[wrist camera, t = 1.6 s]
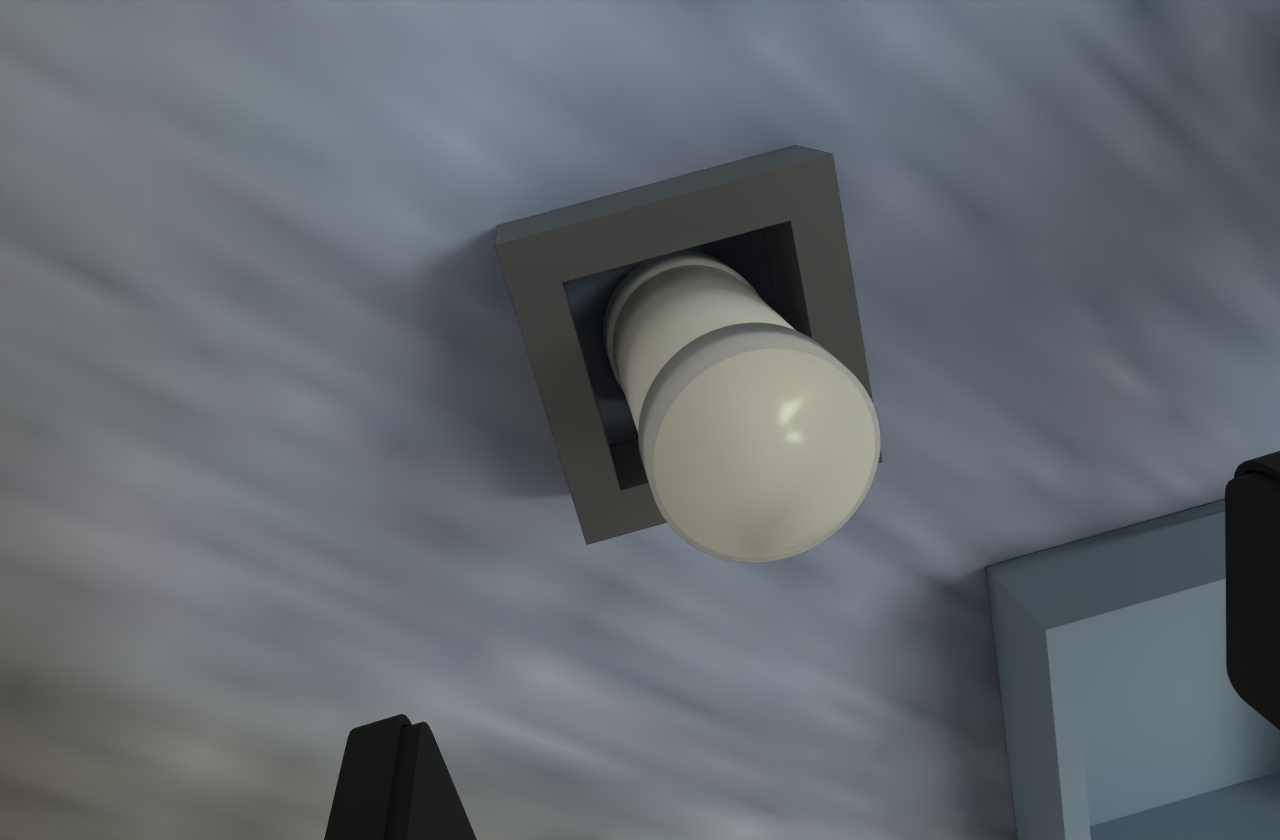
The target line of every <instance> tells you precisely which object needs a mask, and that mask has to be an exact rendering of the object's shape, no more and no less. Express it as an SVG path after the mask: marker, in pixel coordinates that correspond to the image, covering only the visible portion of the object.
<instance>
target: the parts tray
mask: <svg viewBox="0 0 1280 840" xmlns="http://www.w3.org/2000/svg"><path fill="white" fill-rule="evenodd" d="M986 576H987V584H988V592H989V601H990V609H991V617H992V626H993V634H994V642H995V651H996V659H997V667H998V676H999V684H1000V692H1001V701H1002V709H1003V718H1004V726H1005V734H1006V743H1007V751H1008V759H1009V768H1010V776H1011V784H1012V793H1013V801H1014V809H1015V818H1016V826H1017V834H1018V840H1280V730H1279V729H1278V728H1276V727H1275V726H1274V725H1273V724H1271V723H1270V722H1269V721H1268V720H1267V719H1265V718H1264V717H1263V716H1262V715H1260V714H1259V713H1258V712H1257V711H1256V710H1254V709H1253V708H1252V707H1251V706H1249V705H1248V704H1247V703H1246V702H1245V701H1244V700H1243V699H1242V698H1241V697H1240V696H1239V695H1238V694H1237V692H1236V691H1235V690H1234V688H1233V686H1232V684H1231V682H1230V680H1229V677H1228V674H1227V668H1226V560H1225V499H1224V500H1220V501H1217V502H1213V503H1210V504H1206V505H1202V506H1199V507H1195V508H1192V509H1188V510H1185V511H1181V512H1178V513H1174V514H1171V515H1167V516H1164V517H1160V518H1157V519H1153V520H1150V521H1146V522H1143V523H1139V524H1136V525H1132V526H1129V527H1125V528H1121V529H1118V530H1114V531H1111V532H1107V533H1104V534H1100V535H1097V536H1093V537H1090V538H1086V539H1083V540H1079V541H1076V542H1072V543H1069V544H1065V545H1062V546H1058V547H1055V548H1051V549H1047V550H1044V551H1040V552H1037V553H1033V554H1030V555H1026V556H1023V557H1019V558H1016V559H1012V560H1009V561H1005V562H1002V563H998V564H995V565H991V566H988V567H986Z"/></svg>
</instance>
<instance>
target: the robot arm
mask: <svg viewBox="0 0 1280 840" xmlns="http://www.w3.org/2000/svg"><path fill="white" fill-rule="evenodd" d="M1225 560H1226V668H1227V674H1228V677H1229V680H1230V682H1231V684H1232V686H1233V688H1234V690H1235V691H1236V692H1237V694H1238V695H1239V696H1240V697H1241V698H1242V699H1243V700H1244V701H1245V702H1246V703H1247V704H1248V705H1249V706H1251V707H1252V708H1253V709H1254V710H1256V711H1257V712H1258V713H1259V714H1260V715H1262V716H1263V717H1264V718H1265V719H1267V720H1268V721H1269V722H1270V723H1271V724H1273V725H1274V726H1275V727H1276V728H1278V729H1279V730H1280V451H1278V452H1275V453H1272V454H1268V455H1265V456H1262V457H1258V458H1255V459H1252V460H1248V461H1245V462H1243V463H1242V464H1240V465H1239V466H1238V468H1237V469H1236V471H1235V474H1234V478H1233V479H1232V480H1230V481H1229V482H1228V484H1227V486H1226V490H1225ZM324 840H477V839H476V837H475V834H474V832H473V830H472V827H471V825H470V822H469V820H468V817H467V815H466V813H465V810H464V808H463V805H462V803H461V801H460V798H459V796H458V793H457V791H456V789H455V786H454V784H453V781H452V779H451V777H450V774H449V772H448V769H447V767H446V764H445V762H444V760H443V757H442V755H441V752H440V750H439V748H438V745H437V743H436V740H435V738H434V736H433V733H432V731H431V729H430V727H429V725H428V724H427V723H426V722H421V723H417V724H414V725H412V724H411V722H410V720H409V719H408V718H407V716H406V715H403V714H400V715H397V716H393V717H390V718H387V719H383V720H380V721H377V722H373V723H370V724H367V725H363V726H360V727H357V728H354V729H352V730H351V731H350V734H349V736H348V739H347V744H346V748H345V752H344V756H343V761H342V765H341V769H340V774H339V778H338V782H337V787H336V791H335V795H334V800H333V804H332V808H331V812H330V817H329V821H328V825H327V830H326V834H325V838H324Z"/></svg>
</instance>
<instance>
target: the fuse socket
mask: <svg viewBox="0 0 1280 840" xmlns="http://www.w3.org/2000/svg"><path fill="white" fill-rule="evenodd" d="M761 228H764V233H765V238H766V243H767V249H768V254H769V259H770V264H771V269H772V274H773V279H774V285H775V290H776V295H777V300H778V305H779V310H780V316H781V317H782V318H783V319H784V320H785V321H786V322H787V323H788V324H789V325H791V326H792V327H793V328H794V329H795V330H796V331H798V332H800V333H802V334H804V335H806V336H808V337H810V338H811V339H813V340H814V341H816V342H817V343H819V344H820V345H821V346H822V347H823V348H824V349H826V350H827V351H828V352H829V353H830V354H831V355H832V356H834V357H835V358H836V359H837V360H838V361H839V362H841V363H842V364H843V365H844V366H845V367H846V368H847V369H848V370H849V371H850V372H851V373H853V374H854V375H855V376H856V378H857V379H858V380H859V381H860V383H861V384H862V385H863V387H864V388H865V390H866V392H867V393H868V395H869V397H870V399H871V401H872V395H871V389H870V383H869V376H868V370H867V364H866V358H865V352H864V345H863V339H862V333H861V327H860V320H859V314H858V308H857V302H856V296H855V289H854V283H853V277H852V271H851V264H850V258H849V252H848V246H847V240H846V233H845V227H844V221H843V215H842V209H841V202H840V196H839V190H838V184H837V177H836V171H835V165H834V159H833V154H832V153H827V152H823V151H819V150H814V149H810V148H805V147H801V146H797V145H794V146H790V147H786V148H783V149H779V150H775V151H772V152H768V153H764V154H760V155H757V156H753V157H749V158H746V159H742V160H738V161H734V162H731V163H727V164H723V165H720V166H716V167H712V168H709V169H705V170H701V171H697V172H694V173H690V174H686V175H683V176H679V177H675V178H671V179H668V180H664V181H660V182H657V183H653V184H649V185H645V186H642V187H638V188H634V189H631V190H627V191H623V192H620V193H616V194H612V195H608V196H605V197H601V198H597V199H594V200H590V201H586V202H582V203H579V204H575V205H571V206H568V207H564V208H560V209H556V210H553V211H549V212H545V213H542V214H538V215H534V216H531V217H527V218H523V219H519V220H516V221H512V222H508V223H505V224H501V225H498V228H497V234H496V240H495V248H496V251H497V254H498V257H499V261H500V264H501V267H502V270H503V274H504V277H505V280H506V284H507V287H508V290H509V293H510V297H511V300H512V303H513V306H514V310H515V313H516V316H517V319H518V323H519V326H520V329H521V333H522V336H523V339H524V342H525V346H526V349H527V352H528V355H529V359H530V362H531V365H532V368H533V372H534V375H535V378H536V381H537V385H538V388H539V391H540V395H541V398H542V401H543V404H544V408H545V411H546V414H547V417H548V421H549V424H550V427H551V430H552V434H553V437H554V440H555V443H556V447H557V450H558V453H559V457H560V460H561V463H562V466H563V470H564V473H565V476H566V479H567V483H568V486H569V489H570V492H571V496H572V499H573V502H574V505H575V509H576V512H577V515H578V519H579V522H580V525H581V528H582V532H583V535H584V538H585V541H586V545H588V544H592V543H595V542H599V541H602V540H606V539H610V538H613V537H617V536H620V535H624V534H627V533H631V532H635V531H638V530H642V529H645V528H649V527H652V526H656V525H660V524H663V523H667V521H666V520H665V518H664V517H663V516H662V514H661V512H660V510H659V508H658V506H657V504H656V502H655V499H654V496H653V494H652V491H651V488H650V485H649V481H648V478H647V475H646V472H645V469H644V466H643V463H642V460H641V455H640V450H639V441H638V438H636V439H632V440H629V441H625V442H622V443H618V444H614V445H611V446H610V445H609V441H608V437H607V434H606V430H605V427H604V423H603V420H602V416H601V413H600V409H599V406H598V402H597V399H596V395H595V391H594V388H593V384H592V381H591V377H590V374H589V370H588V367H587V363H586V360H585V356H584V352H583V349H582V345H581V342H580V338H579V335H578V331H577V328H576V324H575V321H574V317H573V313H572V310H571V306H570V303H569V299H568V296H567V292H566V289H565V285H564V282H566V281H570V280H573V279H577V278H581V277H584V276H588V275H592V274H595V273H599V272H603V271H606V270H610V269H614V268H617V267H621V266H625V265H629V264H632V263H636V262H640V261H643V260H647V259H651V258H654V257H658V256H662V255H665V254H669V253H673V252H676V251H680V250H684V249H687V248H691V247H695V246H698V245H702V244H706V243H709V242H713V241H717V240H720V239H724V238H728V237H732V236H735V235H739V234H743V233H746V232H750V231H754V230H757V229H761ZM872 403H873V401H872ZM881 462H882V457H881V451H880V456H879V461H878V463H881Z"/></svg>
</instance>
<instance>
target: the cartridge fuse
mask: <svg viewBox="0 0 1280 840" xmlns="http://www.w3.org/2000/svg"><path fill="white" fill-rule="evenodd" d="M604 342H605V347H606V351H607V354H608V357H609V361H610V364H611V367H612V370H613V372H614V375H615V377H616V379H617V381H618V383H619V385H620V386H621V388H622V389H623V390H624V393H625V396H626V399H627V402H628V405H629V408H630V411H631V414H632V417H633V420H634V423H635V426H636V429H637V431H638V441H639V450H640V455H641V460H642V463H643V466H644V469H645V472H646V475H647V478H648V481H649V485H650V488H651V491H652V494H653V496H654V499H655V502H656V504H657V506H658V508H659V510H660V512H661V514H662V516H663V517H664V518H665V520H666V521H667V523H668V524H669V525H670V527H671V528H672V529H673V530H674V531H675V532H676V533H677V534H678V535H679V536H680V537H681V538H683V539H684V540H685V541H687V542H688V543H689V544H690V545H692V546H694V547H695V548H697V549H699V550H701V551H702V552H705V553H707V554H710V555H712V556H714V557H718V558H721V559H725V560H729V561H736V562H743V563H761V562H771V561H776V560H781V559H785V558H789V557H792V556H795V555H797V554H800V553H803V552H805V551H807V550H809V549H811V548H813V547H815V546H817V545H818V544H820V543H821V542H823V541H825V540H826V539H828V538H829V537H830V536H832V535H833V534H834V533H835V532H837V531H838V530H839V529H840V528H841V527H842V526H843V525H844V524H845V523H846V522H847V521H848V520H849V519H850V518H851V517H852V515H853V514H854V513H855V512H856V510H857V509H858V508H859V506H860V505H861V503H862V502H863V500H864V498H865V497H866V495H867V493H868V491H869V489H870V487H871V485H872V482H873V479H874V476H875V473H876V470H877V466H878V461H879V456H880V429H879V423H878V419H877V414H876V411H875V408H874V406H873V403H872V401H871V399H870V397H869V395H868V393H867V392H866V390H865V388H864V387H863V385H862V384H861V383H860V381H859V380H858V379H857V378H856V376H855V375H854V374H853V373H851V372H850V371H849V370H848V369H847V368H846V367H845V366H844V365H843V364H842V363H841V362H839V361H838V360H837V359H836V358H835V357H834V356H832V355H831V354H830V353H829V352H828V351H827V350H826V349H824V348H823V347H822V346H821V345H820V344H819V343H817V342H816V341H814V340H813V339H811V338H810V337H808V336H806V335H804V334H802V333H800V332H798V331H796V330H795V329H794V328H793V327H792V326H791V325H789V324H788V323H787V322H786V321H785V320H784V319H783V318H782V317H781V316H779V315H778V314H777V313H776V312H775V311H774V310H773V309H772V308H770V307H769V306H768V305H767V304H766V303H765V302H764V301H763V300H762V299H761V298H760V296H759V294H758V293H757V292H756V290H755V289H754V288H753V287H752V285H751V284H750V283H749V282H747V281H746V280H745V279H744V278H743V277H742V276H741V275H740V274H739V273H737V272H736V271H735V270H734V269H733V268H732V267H730V266H729V265H727V264H726V263H725V262H723V261H721V260H719V259H717V258H715V257H713V256H710V255H707V254H704V253H699V252H693V251H676V252H673V253H669V254H665V255H662V256H658V257H654V258H651V259H649V260H647V261H645V262H643V263H642V264H640V265H639V266H637V267H636V268H634V269H633V270H632V271H631V272H630V273H629V274H627V276H626V277H625V278H624V279H623V280H622V281H621V282H620V284H619V285H618V287H617V288H616V290H615V291H614V293H613V295H612V297H611V299H610V301H609V304H608V307H607V310H606V314H605V319H604Z"/></svg>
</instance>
